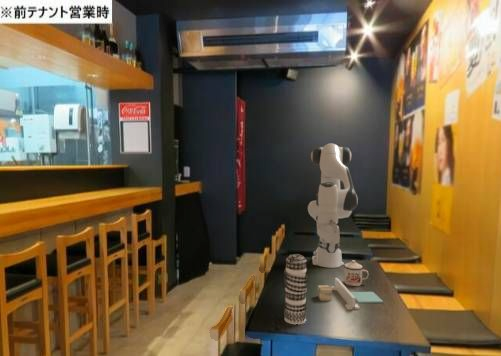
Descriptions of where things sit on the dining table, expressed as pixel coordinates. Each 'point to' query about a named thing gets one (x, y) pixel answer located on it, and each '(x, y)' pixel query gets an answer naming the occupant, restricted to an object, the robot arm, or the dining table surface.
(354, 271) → the teacup with lid
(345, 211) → the robot arm
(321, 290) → the maple block
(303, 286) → the decorative candle
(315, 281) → the dining table surface
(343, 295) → the divider wall
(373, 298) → the pad
